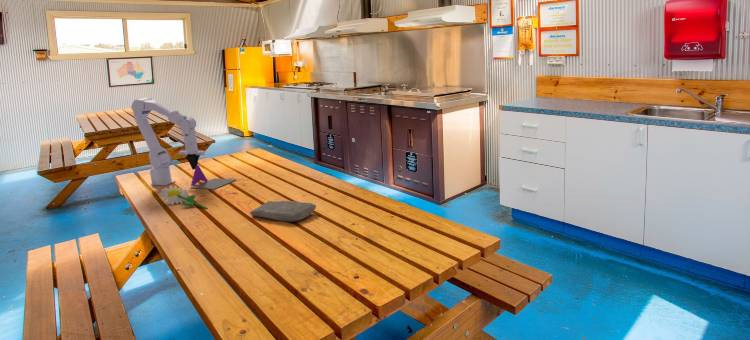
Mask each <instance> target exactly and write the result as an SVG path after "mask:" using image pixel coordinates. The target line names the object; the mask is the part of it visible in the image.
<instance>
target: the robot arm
mask: <svg viewBox="0 0 750 340" xmlns="http://www.w3.org/2000/svg"><path fill="white" fill-rule="evenodd" d="M130 108H131V110H132V112H133V119H134V122H135V123H136V125H137V127H138V129H139V131H140V133H141V135H142V138H143V140H144V141H145V143H146V145H147V147H148V149H149V153H148V157H149V163H150V166H152V167H151V168H150V170H149V171H150V172H149V174H150V181H151V183H150V185H151V186H167V185H171V184H173V183H175V182H176V180H172V173H171V169H170V167H171V166H170V165H171V161H172V157H171V154H170V153H169V152H168V151H167V149H166V148H165V147H162V146H161V144H160V142H159V140H158V137H157V135H156V134H155V131H154V130H153V128H152V125H151V123H150V122H149V119H148V116H149V114H150V113H151V112H152V111H154V112H156V113H158V114H160V115H162V116H164V117H166V118H167V120H168V121H169V122H171V123H172V124H175V125H176V126H179V129H180V130H181V132H182V136H183V142H184V148H185V150H179V152H178V153H179V155H180V156H185V159H186V160H187V162H188V163H189V165H190V167H191V169H192V170H194V171H195V167H196V165H198V163H199V158H200V156H205V155H206V151H205V150H199V148H198V142H197V141H198V140H197V135H196V127H197V120H195V118H193V117H191V116H189V117H188V116H187V115H184V114H182V113H181V112H180V111H178V110H170V109H169V108H167V107H166V106H164V105H162V104H160V103H159V102H158V101H157V100H155V99H154V98H152V97H150V96H148V97H143V98H139V99H134V100H133V101H132V104H131V107H130Z"/></svg>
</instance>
